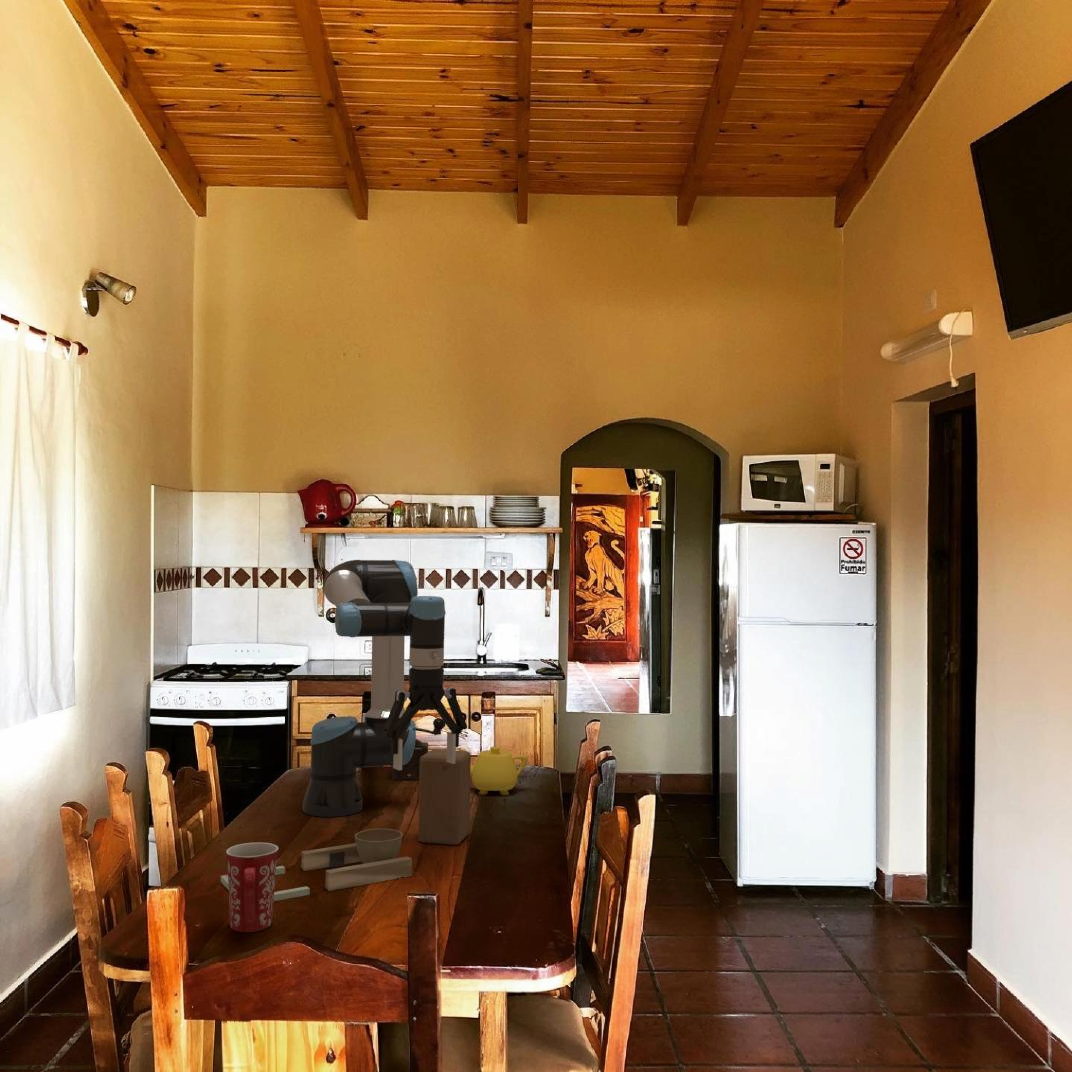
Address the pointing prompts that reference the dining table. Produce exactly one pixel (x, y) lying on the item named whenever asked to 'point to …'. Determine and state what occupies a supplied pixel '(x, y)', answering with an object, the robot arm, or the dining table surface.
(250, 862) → the mug
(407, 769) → the manual coffee grinder
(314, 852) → the twin plank rack
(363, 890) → the dining table surface
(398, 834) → the flower pot
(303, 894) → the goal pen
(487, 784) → the teapot
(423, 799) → the wooden block
